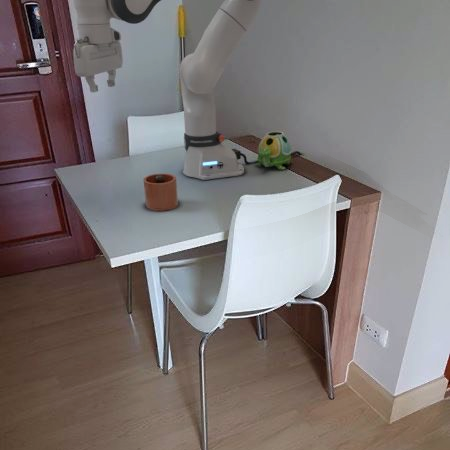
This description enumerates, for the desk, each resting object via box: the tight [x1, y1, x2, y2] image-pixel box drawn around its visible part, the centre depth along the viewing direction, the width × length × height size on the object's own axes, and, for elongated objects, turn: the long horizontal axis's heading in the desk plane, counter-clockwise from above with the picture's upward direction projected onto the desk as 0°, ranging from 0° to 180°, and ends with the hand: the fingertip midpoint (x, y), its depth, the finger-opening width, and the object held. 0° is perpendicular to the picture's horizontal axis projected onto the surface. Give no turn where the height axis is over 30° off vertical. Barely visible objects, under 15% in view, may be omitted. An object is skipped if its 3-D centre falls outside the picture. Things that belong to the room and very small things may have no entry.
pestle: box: [155, 173, 165, 183], centre depth 152 cm, size 4×4×9 cm
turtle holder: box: [256, 130, 292, 171], centre depth 181 cm, size 12×18×12 cm
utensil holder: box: [143, 173, 179, 212], centre depth 152 cm, size 10×10×8 cm
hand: (103, 89), depth 143 cm, fingers open, 8 cm apart
